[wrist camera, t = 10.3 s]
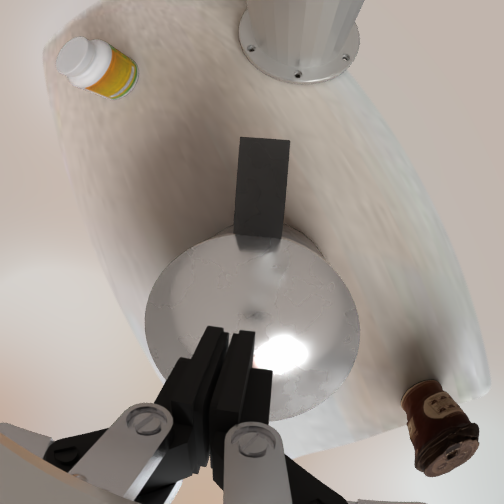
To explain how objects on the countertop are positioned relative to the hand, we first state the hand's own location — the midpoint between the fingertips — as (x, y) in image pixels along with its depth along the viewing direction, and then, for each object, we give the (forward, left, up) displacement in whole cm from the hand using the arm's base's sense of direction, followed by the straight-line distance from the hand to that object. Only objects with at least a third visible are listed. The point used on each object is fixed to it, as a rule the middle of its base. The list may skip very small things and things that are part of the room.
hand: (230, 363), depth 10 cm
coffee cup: (+19, +24, -21) cm, 37 cm away
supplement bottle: (-18, -18, -21) cm, 33 cm away
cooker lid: (+2, 0, -11) cm, 11 cm away
